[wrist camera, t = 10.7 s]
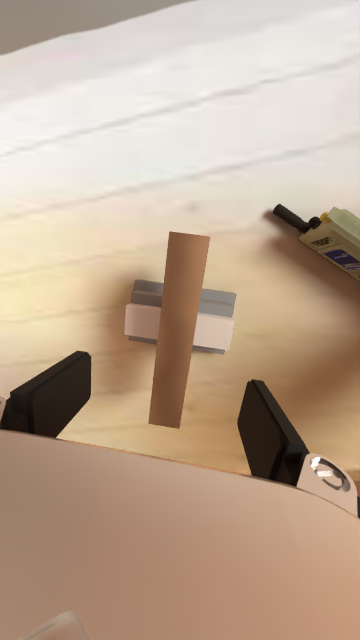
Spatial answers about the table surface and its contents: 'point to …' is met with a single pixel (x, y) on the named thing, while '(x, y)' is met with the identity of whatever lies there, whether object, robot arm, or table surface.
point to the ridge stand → (210, 323)
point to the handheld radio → (330, 236)
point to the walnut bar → (177, 325)
